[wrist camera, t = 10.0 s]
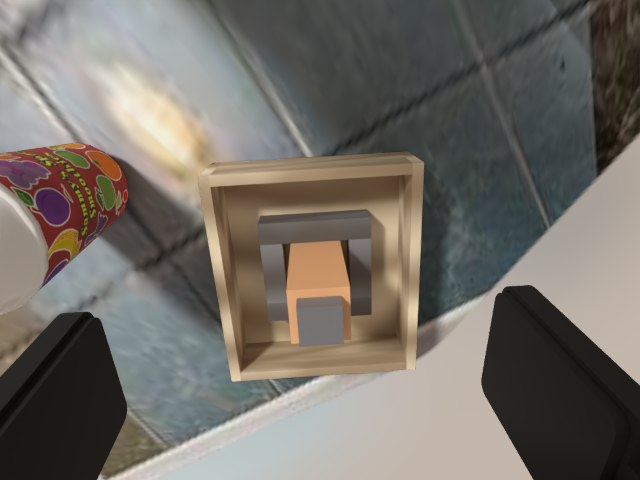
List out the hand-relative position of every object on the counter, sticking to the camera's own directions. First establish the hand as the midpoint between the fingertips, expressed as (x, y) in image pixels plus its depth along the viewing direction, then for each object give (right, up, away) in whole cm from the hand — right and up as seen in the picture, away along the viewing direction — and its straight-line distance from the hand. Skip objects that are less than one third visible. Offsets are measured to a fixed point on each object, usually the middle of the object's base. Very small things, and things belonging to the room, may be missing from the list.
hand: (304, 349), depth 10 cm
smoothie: (-18, +7, +23) cm, 31 cm away
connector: (0, +1, +25) cm, 25 cm away
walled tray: (0, +1, +26) cm, 26 cm away
